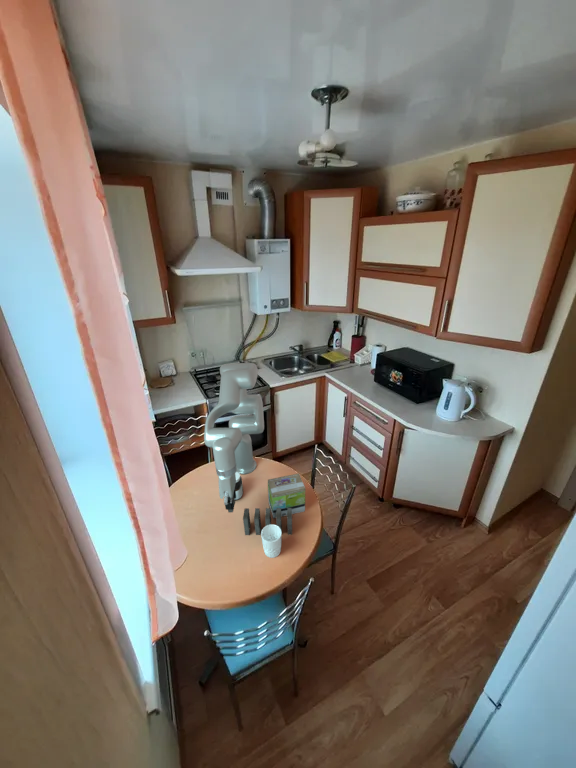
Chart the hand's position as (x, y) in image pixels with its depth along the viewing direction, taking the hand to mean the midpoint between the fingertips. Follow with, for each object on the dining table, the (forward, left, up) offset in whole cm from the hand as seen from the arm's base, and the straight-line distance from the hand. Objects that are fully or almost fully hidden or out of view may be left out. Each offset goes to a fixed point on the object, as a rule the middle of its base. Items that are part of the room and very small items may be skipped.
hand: (231, 503), depth 126 cm
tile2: (0, +10, -16) cm, 19 cm away
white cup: (+9, +16, -16) cm, 25 cm away
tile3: (0, +14, -16) cm, 22 cm away
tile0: (0, 0, -3) cm, 3 cm away
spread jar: (-21, -5, -16) cm, 27 cm away
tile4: (0, +19, -16) cm, 25 cm away
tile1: (0, +5, -16) cm, 17 cm away
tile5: (0, +23, -16) cm, 28 cm away
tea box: (-12, +22, -16) cm, 30 cm away
